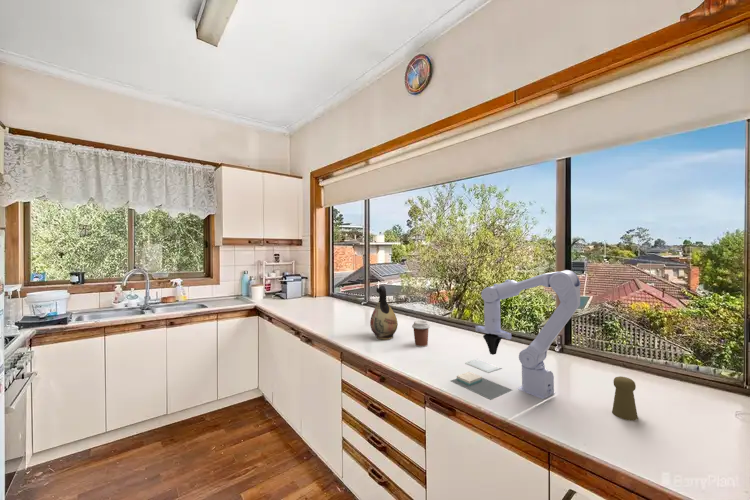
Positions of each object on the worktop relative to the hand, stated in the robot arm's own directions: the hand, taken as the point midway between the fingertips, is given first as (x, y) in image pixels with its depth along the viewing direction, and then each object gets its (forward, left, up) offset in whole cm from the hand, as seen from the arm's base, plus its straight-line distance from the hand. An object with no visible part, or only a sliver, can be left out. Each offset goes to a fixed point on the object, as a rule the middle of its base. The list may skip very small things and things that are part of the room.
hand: (493, 353), depth 120 cm
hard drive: (+10, -7, -11) cm, 16 cm away
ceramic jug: (+70, +2, -10) cm, 71 cm away
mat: (-1, +9, -10) cm, 13 cm away
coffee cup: (+48, -6, -10) cm, 49 cm away
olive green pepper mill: (-38, -10, -10) cm, 41 cm away
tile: (+1, +9, -8) cm, 12 cm away
